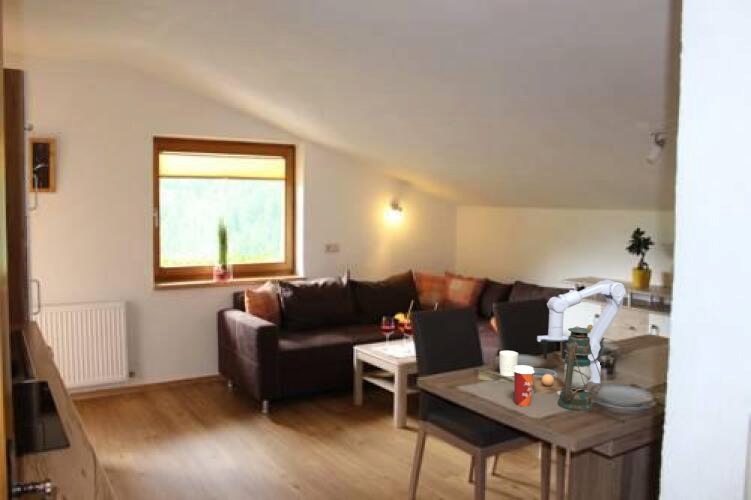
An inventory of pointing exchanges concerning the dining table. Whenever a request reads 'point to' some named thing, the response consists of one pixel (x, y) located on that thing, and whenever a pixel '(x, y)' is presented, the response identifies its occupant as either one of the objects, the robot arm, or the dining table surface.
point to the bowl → (543, 372)
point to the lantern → (577, 372)
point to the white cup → (508, 362)
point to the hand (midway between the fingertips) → (554, 358)
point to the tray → (543, 389)
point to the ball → (547, 380)
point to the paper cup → (523, 384)
